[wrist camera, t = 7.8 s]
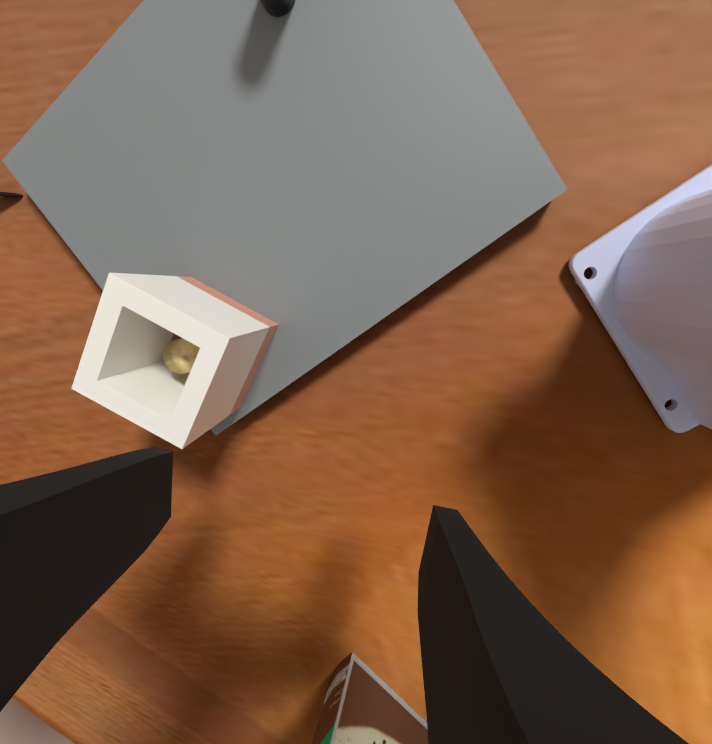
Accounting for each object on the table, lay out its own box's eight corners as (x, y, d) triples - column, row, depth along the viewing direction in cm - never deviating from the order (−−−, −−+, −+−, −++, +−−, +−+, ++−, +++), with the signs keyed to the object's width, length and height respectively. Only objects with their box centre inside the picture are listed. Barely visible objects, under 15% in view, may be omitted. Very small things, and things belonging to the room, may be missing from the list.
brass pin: (235, 349, 18) (202, 361, 15) (214, 365, 18) (178, 380, 15) (217, 325, 18) (180, 332, 15) (196, 342, 18) (156, 352, 15)
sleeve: (278, 324, 17) (229, 338, 13) (240, 407, 19) (182, 449, 14) (191, 276, 17) (109, 272, 13) (158, 362, 19) (71, 388, 14)
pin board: (553, 198, 16) (567, 189, 15) (229, 425, 20) (215, 436, 19) (335, -159, 15) (327, -209, 13) (33, 170, 19) (1, 160, 17)
